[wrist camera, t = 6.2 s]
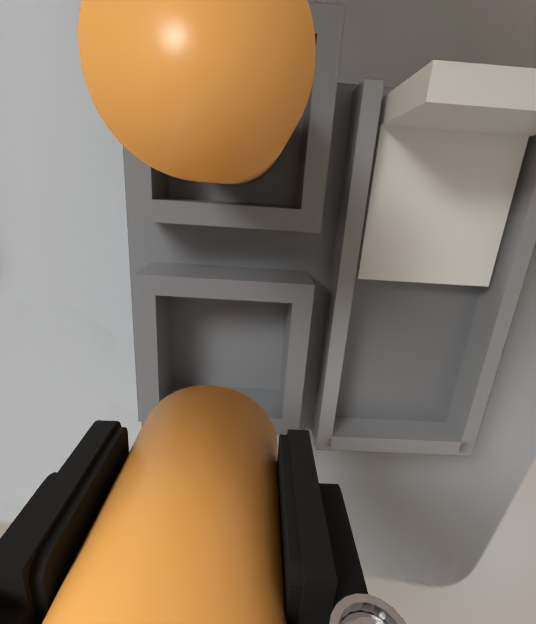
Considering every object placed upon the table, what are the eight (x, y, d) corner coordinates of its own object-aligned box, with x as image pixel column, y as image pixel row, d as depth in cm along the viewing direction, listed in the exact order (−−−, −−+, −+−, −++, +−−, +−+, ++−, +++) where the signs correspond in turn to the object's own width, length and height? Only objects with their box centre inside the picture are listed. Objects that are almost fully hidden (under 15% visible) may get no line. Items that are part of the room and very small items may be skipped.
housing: (140, 47, 16) (-138, -277, 5) (512, 78, 17) (1025, -144, 6) (154, 391, 22) (39, 610, 11) (432, 404, 23) (605, 624, 11)
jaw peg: (138, 381, 10) (-514, 1379, 2) (281, 388, 10) (377, 1342, 2) (144, 494, 11) (-207, 1397, 3) (272, 500, 12) (300, 1375, 3)
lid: (379, 99, 14) (433, 59, 10) (524, 110, 14) (641, 77, 10) (354, 274, 16) (388, 307, 12) (479, 282, 17) (558, 317, 12)
